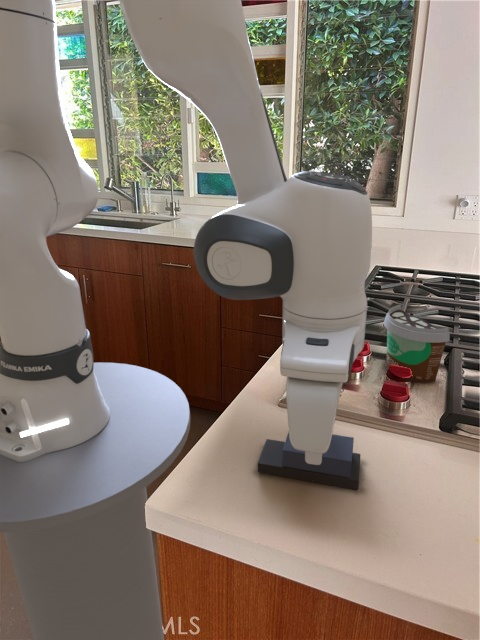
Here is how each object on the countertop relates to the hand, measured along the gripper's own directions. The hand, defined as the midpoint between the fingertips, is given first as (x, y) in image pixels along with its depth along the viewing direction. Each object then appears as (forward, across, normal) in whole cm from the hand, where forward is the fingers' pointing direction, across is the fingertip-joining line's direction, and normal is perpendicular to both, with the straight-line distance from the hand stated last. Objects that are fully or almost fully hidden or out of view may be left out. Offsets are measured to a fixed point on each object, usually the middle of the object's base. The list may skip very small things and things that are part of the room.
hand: (318, 435), depth 55 cm
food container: (+5, -28, +11) cm, 31 cm away
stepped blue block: (+5, 0, -1) cm, 5 cm away
